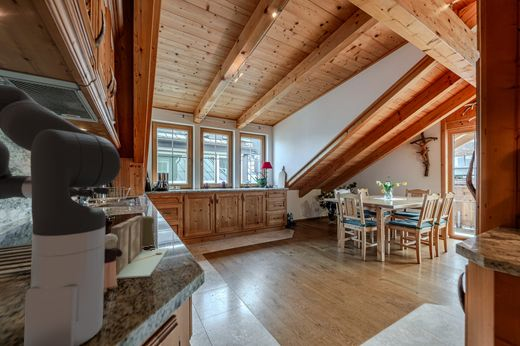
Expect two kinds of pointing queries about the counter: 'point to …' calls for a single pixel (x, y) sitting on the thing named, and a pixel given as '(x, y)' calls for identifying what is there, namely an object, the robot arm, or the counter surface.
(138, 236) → the fence panel
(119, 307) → the counter surface
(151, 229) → the olive grey cylinder
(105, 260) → the grandmother figurine
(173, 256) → the counter surface
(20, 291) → the counter surface
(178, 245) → the counter surface
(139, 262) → the board
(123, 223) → the panel
